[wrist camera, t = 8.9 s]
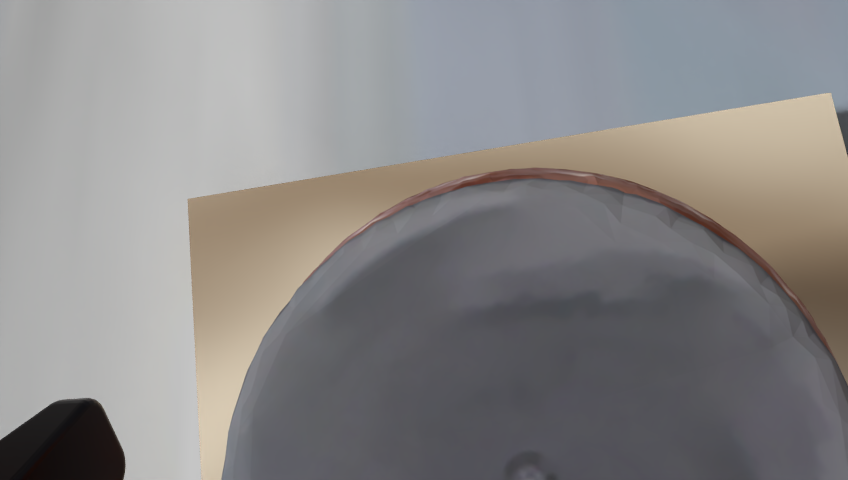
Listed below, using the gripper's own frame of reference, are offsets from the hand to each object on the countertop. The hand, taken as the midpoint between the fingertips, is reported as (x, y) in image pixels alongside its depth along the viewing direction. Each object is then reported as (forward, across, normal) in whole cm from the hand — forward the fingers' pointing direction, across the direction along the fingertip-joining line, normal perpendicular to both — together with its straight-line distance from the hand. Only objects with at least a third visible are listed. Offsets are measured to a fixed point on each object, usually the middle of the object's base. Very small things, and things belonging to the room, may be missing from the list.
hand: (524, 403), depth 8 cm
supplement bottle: (+6, 0, +6) cm, 8 cm away
